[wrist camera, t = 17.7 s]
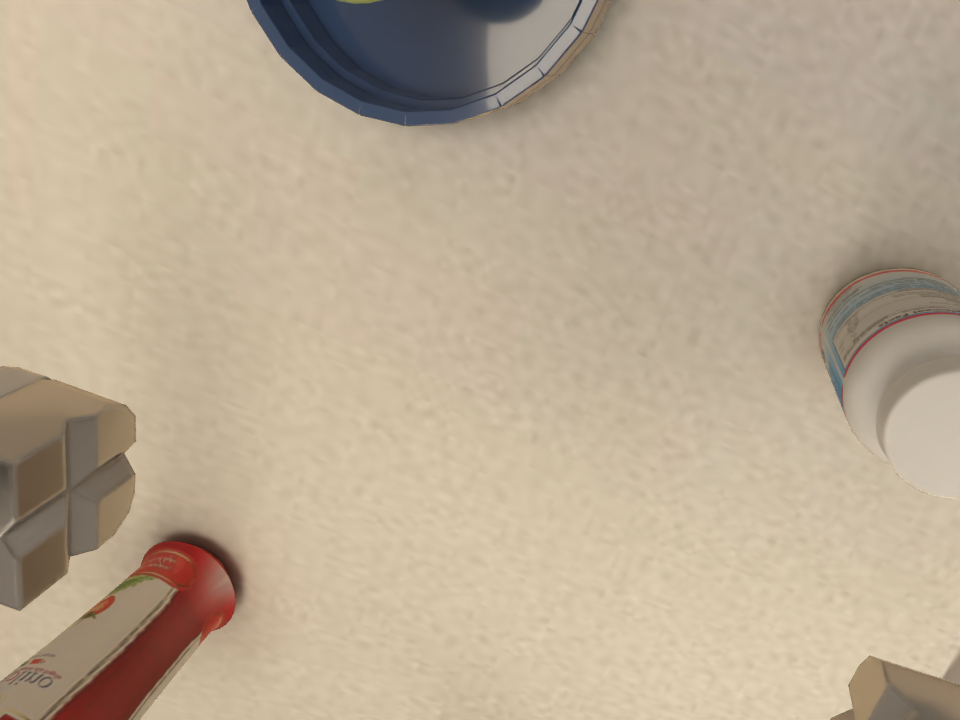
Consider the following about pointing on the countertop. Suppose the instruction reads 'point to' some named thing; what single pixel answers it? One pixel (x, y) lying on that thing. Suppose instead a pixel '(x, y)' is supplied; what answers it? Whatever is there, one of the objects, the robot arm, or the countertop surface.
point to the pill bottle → (900, 372)
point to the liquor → (125, 642)
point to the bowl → (429, 51)
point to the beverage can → (358, 1)
